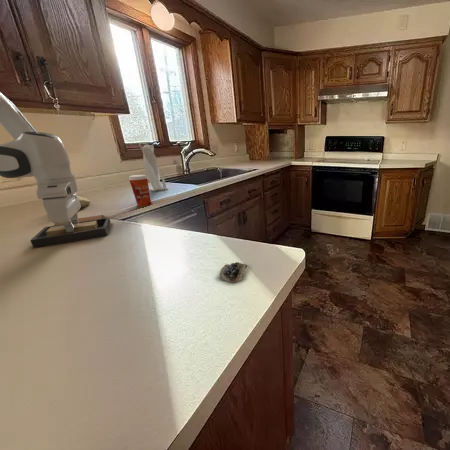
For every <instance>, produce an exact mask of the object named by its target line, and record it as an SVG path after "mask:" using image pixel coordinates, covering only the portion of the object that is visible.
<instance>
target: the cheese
mask: <svg viewBox="0 0 450 450" xmlns="http://www.w3.org/2000/svg"><path fill="white" fill-rule="evenodd" d="M77 196H78V198H79V201H80V204H81V208H85V207H87V206H89V205H90V204H91V200H90V199H89V198H87V197H82V196H80V195H78V194H77Z"/></svg>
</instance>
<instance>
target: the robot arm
mask: <svg viewBox="0 0 450 450" xmlns="http://www.w3.org/2000/svg"><path fill="white" fill-rule="evenodd" d="M0 125H1V127H2V128H3V129H4V130H5V131H6V132H7V133H8V134H9V135H10V136H11V137H12V139H13V140H10V141H8V142H5V143H1V144H0V177H2V178H4V179H5V178H6V179H23V178H31V177H34V179H35V182H36V186H37V189H36V191H35V193H36V197H37V199H39V200H41V203H42V206H43V208H44V211H45V212H46V215H47V216H48V219H49V220H50V221H51V223H52V224H53V225H55V224H58V223H62V224H63V226H64V227H65V228H66V231H67V232H73V231H74V230H75V228H74V225H72V224H76V223H79V222H78V218H79V217H78V216H79V215H78V212H79V210H80V209H81V208H82V207H81V204H80V201H79V198H78V196H79V195H78V194H77V192H79V191H80V189H79V185H78V183H77V179H76V177H75V174H74V172H73V171H72V168H71V161H70V158H69V155H68V152H67V149H66V147H65V145H64V143H63V141H62V140H61V139H60V137H59V136H57V135H55V134H52V133H49V132H42V131H41V132H39V131H37V130H36V129H35V127H34V126H33V125H32V124H31V122H30V121H29V120H28V119H27V118H26V116H24V114H23V113H22V112H21V111H20V110H19V108H18V107H17V106H16V105H15V104H14V103H13V101H11V100H10V99H9V97H7V96H6V95H5V94H4V93H2V92H1V91H0ZM77 195H78V196H77Z"/></svg>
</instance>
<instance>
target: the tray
mask: <svg viewBox="0 0 450 450" xmlns="http://www.w3.org/2000/svg"><path fill="white" fill-rule="evenodd" d="M90 221H97V224H98V227H97V229H93V230H87V231H81V232H74V233H68V234H62V235H56V236H49V237H47V234H46V231H47V230H48V229H49V228H50V227H55V226H62V225H63V224H62V225H55V224H54V225H55V226H54V225H49V226H44V227H43V228H42V229H41V230H40V231H39V232H38V233H37V234H36V235H34V236H33V237H32V238H31V239H30V243H31V246H32V247H33V249H38V248H42V247H43V248H44V247H49V246H54V245H61V244H67V243H72V242H78V241H83V240H88V239H95V238H100V237H105V236H108V234H109V231H110V228H111V226H112V222H111V218H110V217H103V218H102V219H96V220H89V221H82V222H79V223H83V222H90Z"/></svg>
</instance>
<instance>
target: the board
mask: <svg viewBox="0 0 450 450" xmlns="http://www.w3.org/2000/svg"><path fill="white" fill-rule="evenodd" d="M72 225H74V228H75V230H74V231H73V232H67V231H66V228H65V227H64V226H63V225H62V226H55V227H50V228H49V229H48V230H47V231H46V234H47V237H49V236H56V235H62V234H68V233H74V232H81V231H87V230H93V229H97V227H98V224H97V221H90V222H83V223H76V224H72Z"/></svg>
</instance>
